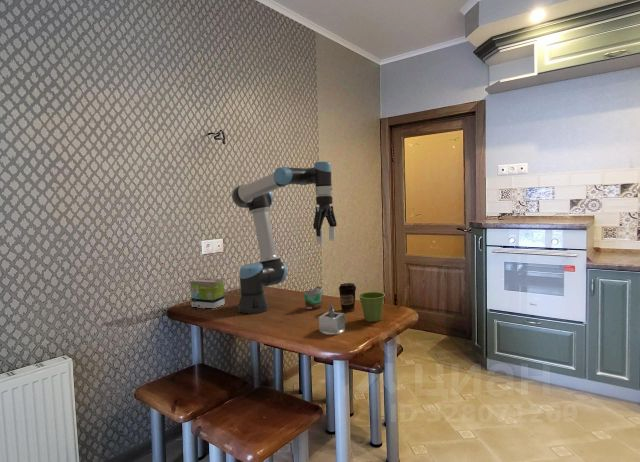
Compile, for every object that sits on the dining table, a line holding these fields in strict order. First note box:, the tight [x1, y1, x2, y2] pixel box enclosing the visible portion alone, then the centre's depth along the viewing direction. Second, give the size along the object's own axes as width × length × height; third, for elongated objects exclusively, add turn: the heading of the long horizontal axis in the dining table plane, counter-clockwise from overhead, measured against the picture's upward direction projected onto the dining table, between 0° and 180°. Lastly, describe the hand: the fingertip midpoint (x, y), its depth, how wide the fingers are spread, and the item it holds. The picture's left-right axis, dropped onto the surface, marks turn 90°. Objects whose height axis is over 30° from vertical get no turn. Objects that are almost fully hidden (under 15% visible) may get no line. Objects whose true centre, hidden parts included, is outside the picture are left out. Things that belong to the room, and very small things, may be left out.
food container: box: [303, 285, 323, 311], centre depth 195 cm, size 12×6×10 cm, turn 148°
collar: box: [318, 311, 346, 335], centre depth 159 cm, size 8×8×6 cm
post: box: [320, 303, 346, 336], centre depth 159 cm, size 10×10×11 cm
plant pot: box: [357, 291, 386, 323], centre depth 171 cm, size 12×12×11 cm
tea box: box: [189, 277, 226, 309], centre depth 209 cm, size 15×10×15 cm
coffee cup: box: [338, 282, 357, 313], centre depth 188 cm, size 9×8×13 cm
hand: (326, 242), depth 179 cm, fingers open, 13 cm apart
